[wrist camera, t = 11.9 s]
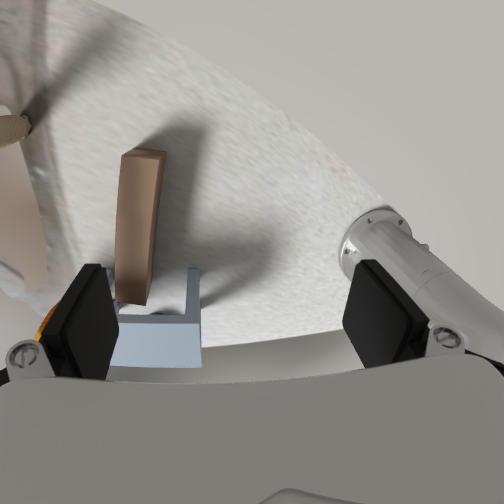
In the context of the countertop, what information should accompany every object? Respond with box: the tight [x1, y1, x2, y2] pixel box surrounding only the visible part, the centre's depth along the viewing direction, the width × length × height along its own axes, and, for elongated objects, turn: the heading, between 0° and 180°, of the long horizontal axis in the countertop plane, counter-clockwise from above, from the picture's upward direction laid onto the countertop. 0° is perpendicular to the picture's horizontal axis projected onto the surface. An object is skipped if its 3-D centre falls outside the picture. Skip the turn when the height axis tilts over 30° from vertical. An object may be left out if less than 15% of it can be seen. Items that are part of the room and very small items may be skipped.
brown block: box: [115, 148, 166, 306], centre depth 35 cm, size 4×18×6 cm, turn 167°
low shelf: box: [106, 269, 202, 368], centre depth 37 cm, size 14×7×12 cm, turn 87°
